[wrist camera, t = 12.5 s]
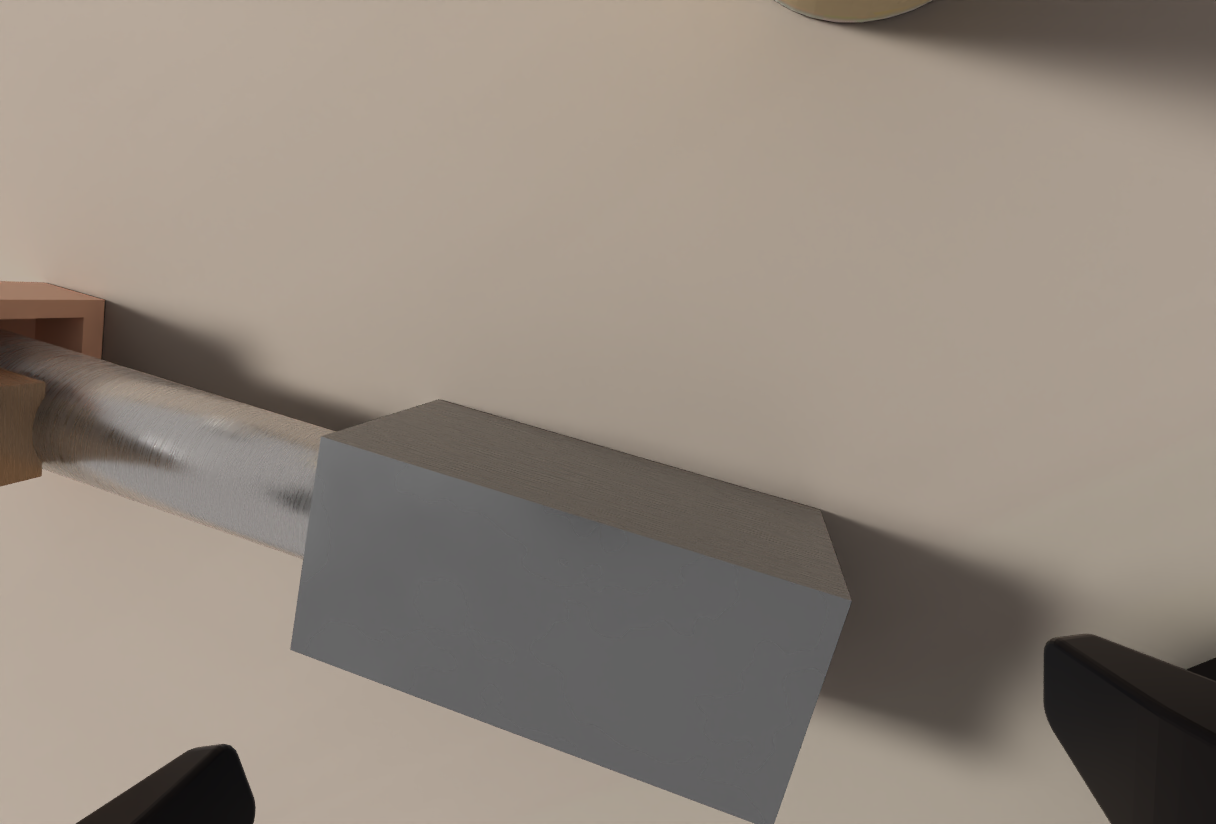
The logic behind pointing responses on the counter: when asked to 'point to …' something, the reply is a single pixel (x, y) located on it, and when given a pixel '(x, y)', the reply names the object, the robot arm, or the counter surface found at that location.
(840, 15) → the coffee cup
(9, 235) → the counter surface
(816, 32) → the counter surface
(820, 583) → the steel block
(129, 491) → the brown and silver piece
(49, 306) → the socket block
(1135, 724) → the robot arm
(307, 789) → the counter surface
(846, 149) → the counter surface
